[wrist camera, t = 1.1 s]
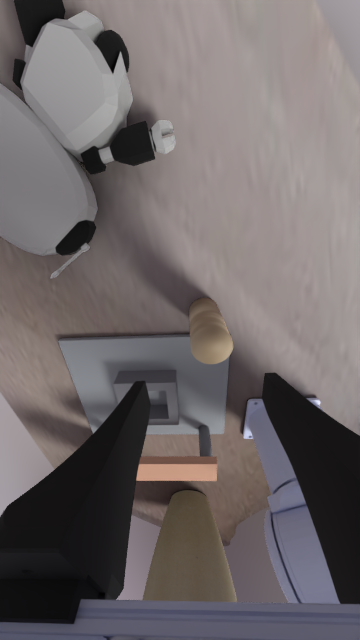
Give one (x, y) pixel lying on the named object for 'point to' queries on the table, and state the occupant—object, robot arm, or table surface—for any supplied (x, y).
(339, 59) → the table surface
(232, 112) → the table surface
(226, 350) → the peg
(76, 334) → the table surface
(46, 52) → the robot toy
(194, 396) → the socket station
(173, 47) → the table surface
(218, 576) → the plant pot
